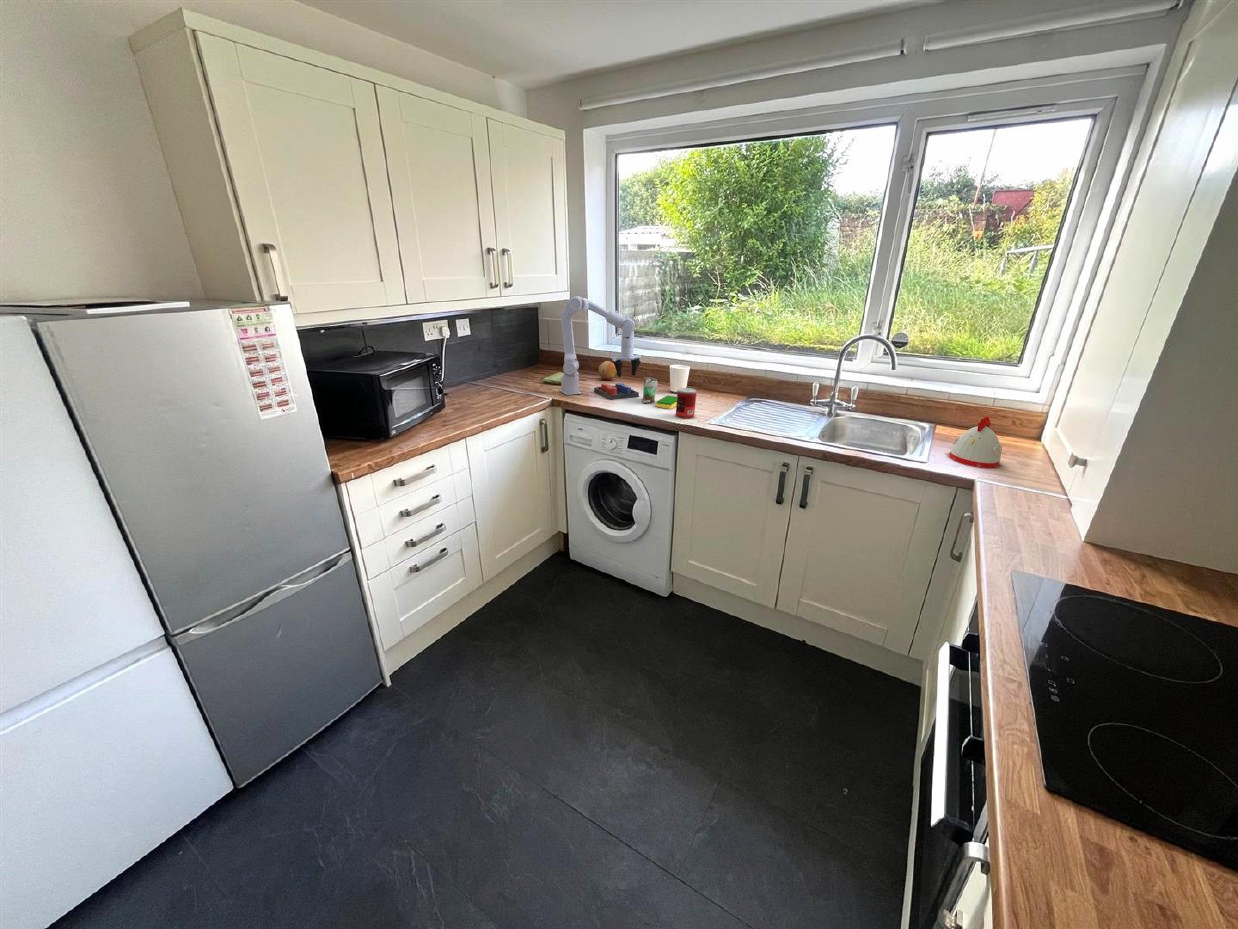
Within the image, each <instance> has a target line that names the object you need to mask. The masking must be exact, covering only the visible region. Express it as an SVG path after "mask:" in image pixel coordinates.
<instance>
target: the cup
mask: <svg viewBox="0 0 1238 929" xmlns="http://www.w3.org/2000/svg"><path fill="white" fill-rule="evenodd" d="M690 369H691V367H690V366H689V365H685V364H672V365H669V390H670V392H671V393H673V394H677V391H678V389H679V388H687V386H688V381H689V379H688V378H689V375H690Z"/></svg>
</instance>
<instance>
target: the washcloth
mask: <svg viewBox="0 0 1238 929" xmlns="http://www.w3.org/2000/svg"><path fill="white" fill-rule="evenodd" d="M563 374H564V372H557V373H554V374H552V375H549V376H546V377H545V378H543V379H542V382H543V383H545V384H552V385H559V386H561V377H562V375H563Z"/></svg>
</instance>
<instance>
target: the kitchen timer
mask: <svg viewBox="0 0 1238 929" xmlns="http://www.w3.org/2000/svg"><path fill="white" fill-rule="evenodd" d="M991 424H992V422H991V419H990V416H984V417H983V418H980V421H979V422H978V423H977V426H973V427H971V428H969V429H968V430H966V431H965V432H963V433H962V434H961V435H960V436H958V435H957V436H956V438H955V440H954V442H953V443H952V447H951V449H950V451H949V455H948V457H949V458H950V460H953V461H954V462H957V463H960V464H961V465H962V464H963V465H965V466H970V467H976V468H982V469H983V468H985V469H993V468H997V467H999V464H1000V461H1001V455H1002V450H1003V444H1000V440H999V438H998V436H997V434H996V433H995V431H993V430H992V429H991V428H990V426H991Z"/></svg>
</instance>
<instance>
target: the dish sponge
mask: <svg viewBox="0 0 1238 929" xmlns="http://www.w3.org/2000/svg"><path fill="white" fill-rule="evenodd" d="M676 404H677V396H676V395H666V396H664V397H662V398H659V400H657V401H656V403H655V407H656V408H662V409H669V410H672V409H673V408H676Z"/></svg>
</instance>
